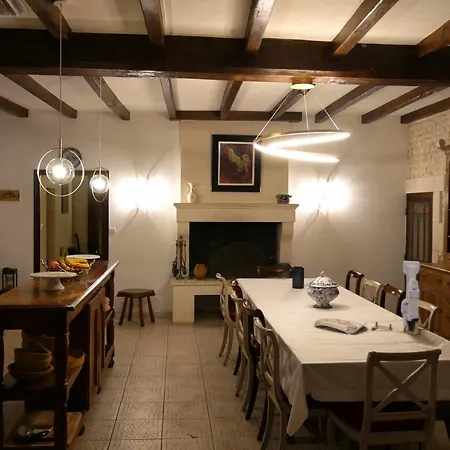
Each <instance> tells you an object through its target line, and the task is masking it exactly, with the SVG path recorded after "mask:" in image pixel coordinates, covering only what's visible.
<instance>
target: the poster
mask: <svg viewBox="0 0 450 450" xmlns="http://www.w3.org/2000/svg"><path fill="white" fill-rule="evenodd" d="M366 325H368V323H366V322H365V323H359V322H354V321H350V320H346V319H341V318H333V317H331V318H329V317H325V318H319V319H317V320H316V321H315V322H314V324H313V327H315V328H316V327H318V326H325V327H330V328H334V329H337V330H339V331H343V332H345V333H346V334H347V335H349V336H350V335H353V334H355V333H357V332H358V331H359V329H361V328H362V327H364V326H366Z"/></svg>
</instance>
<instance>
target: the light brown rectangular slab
mask: <svg viewBox="0 0 450 450" xmlns="http://www.w3.org/2000/svg"><path fill="white" fill-rule="evenodd" d="M419 324H420V323H419V321H418V322H415V325H414V329H413V331H409V327H408V323H407V326H406V333H411V334H418V332H419Z"/></svg>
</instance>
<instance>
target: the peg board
mask: <svg viewBox="0 0 450 450" xmlns="http://www.w3.org/2000/svg"><path fill="white" fill-rule="evenodd" d="M378 323H379V322H378V321H375V325H374V326H372V327H371V331H376V330H384V331H386V332H387V331H388V332H394V333H399V334H405V335H409V336H414V337H421V336H423V335H424V334H425V333H424V332H422V329H421V328H418V334H411V333H406V330H407V326H403V328H399V327H394V326H393V327H392V323H389V326H387V325H381V324H378Z"/></svg>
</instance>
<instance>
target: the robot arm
mask: <svg viewBox="0 0 450 450" xmlns="http://www.w3.org/2000/svg"><path fill="white" fill-rule="evenodd" d="M420 264H421V263H420V262H419V261H412V260H411V261H409V260H403V264H402V267H403V268H402V273H403V274H405V276H406V288H405V289H406V294H405V299H403V300H402V301H401V306H400V307H401V308H400V312H401V314H403V316H402V325H403V327H407V323H408V327H409V331H413V329H414V325H415V322H419V321H420V317H419V304H420V298H421V290H420V288H419V281H418V280H417V275H418V274H419V271H420V269H421V265H420Z"/></svg>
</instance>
